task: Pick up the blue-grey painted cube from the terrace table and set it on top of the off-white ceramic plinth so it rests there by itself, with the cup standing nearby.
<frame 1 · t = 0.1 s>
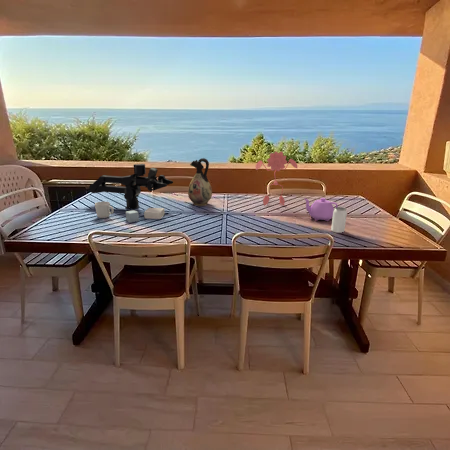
hand: (169, 183, 202), 17 cm above the table, tool horizontal, fingers open, 9 cm apart
can: (337, 231, 178), on the table
cube: (132, 220, 188), on the table
plinth: (154, 216, 197), on the table
cup: (105, 217, 193), on the table
pink artificial flower: (274, 206, 222), on the table
teapot: (319, 219, 198), on the table
ceramic jug: (201, 204, 223), on the table
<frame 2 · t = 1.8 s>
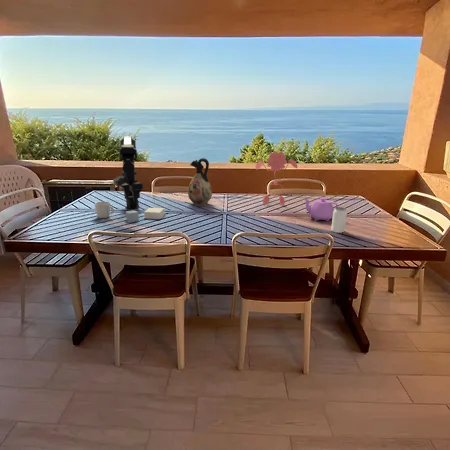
hand: (131, 199, 185), 12 cm above the table, tool pointing down, fingers open, 9 cm apart
nothing on the table moved.
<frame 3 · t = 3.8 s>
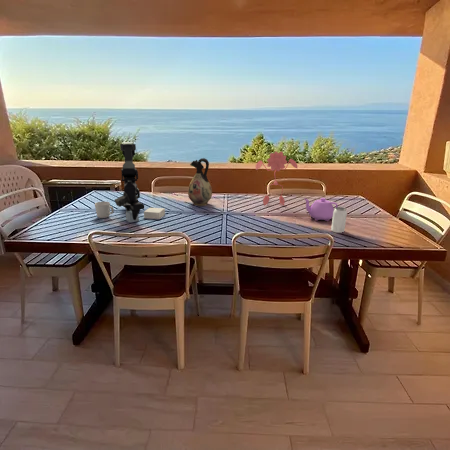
hand: (132, 218, 188), 1 cm above the table, tool pointing down, fingers closed on cube, 5 cm apart
cube: (132, 220, 188), on the table, touching gripper
everything else where it was.
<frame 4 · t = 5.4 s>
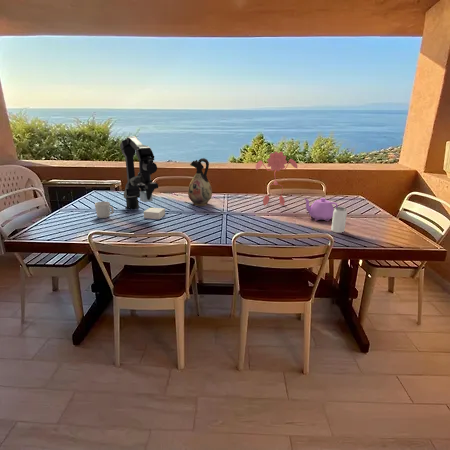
hand: (146, 198, 191), 11 cm above the table, tool pointing down, fingers closed on cube, 5 cm apart
cube: (146, 200, 191), point 10 cm above the table, touching gripper
everything else where it was.
when the fingers open (6 cm above the table, at t = 7.1 s): cube drops 2 cm, resting on plinth.
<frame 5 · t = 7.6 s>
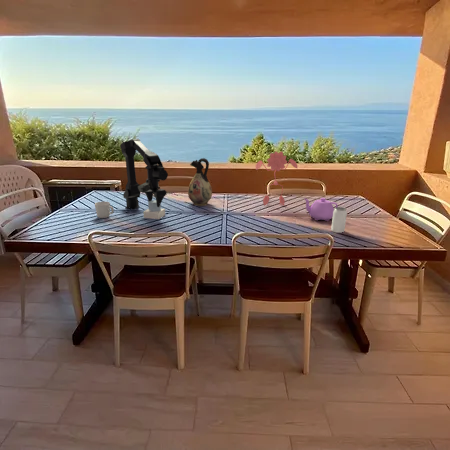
hand: (154, 205, 195), 6 cm above the table, tool pointing down, fingers open, 9 cm apart
cube: (154, 210, 196), point 4 cm above the table, touching plinth
plinth: (154, 217, 197), on the table, touching cube
everything else where it was.
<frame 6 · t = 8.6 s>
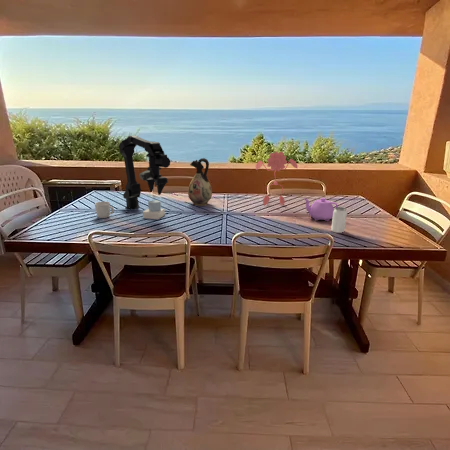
hand: (155, 193, 195), 13 cm above the table, tool pointing down, fingers open, 9 cm apart
nothing on the table moved.
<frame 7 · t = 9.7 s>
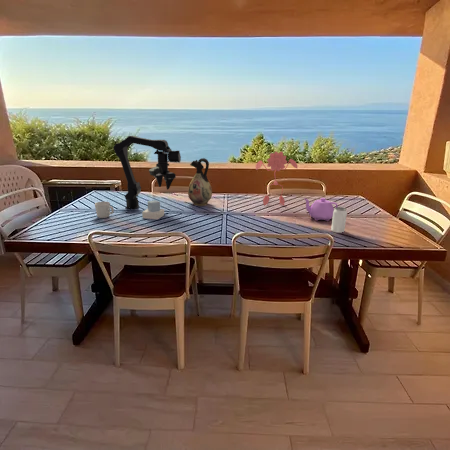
hand: (163, 188, 208), 13 cm above the table, tool pointing down, fingers open, 9 cm apart
nothing on the table moved.
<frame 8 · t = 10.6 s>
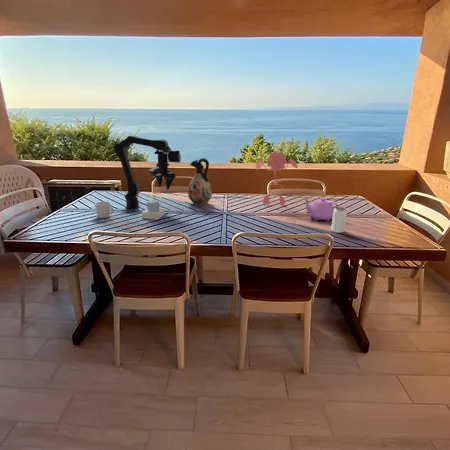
hand: (163, 188, 208), 13 cm above the table, tool pointing down, fingers open, 9 cm apart
at the end: cube inside the target area on the plinth (0.2 cm from its centre), point 4.0 cm above the plinth's base; cube tilted 0°; cube touching plinth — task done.
